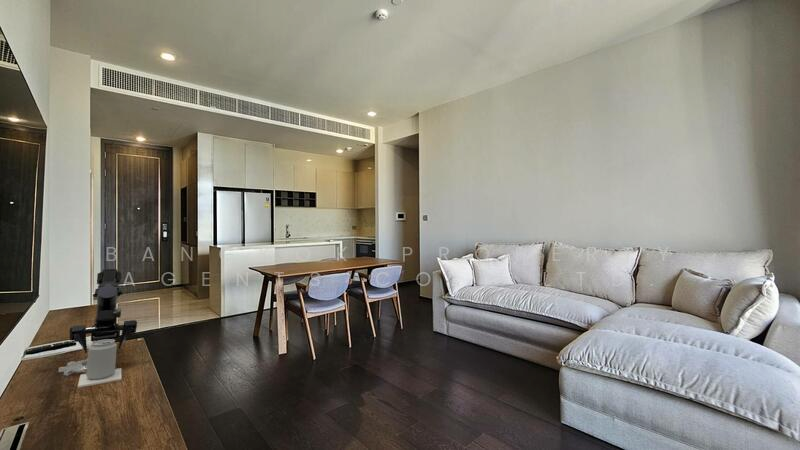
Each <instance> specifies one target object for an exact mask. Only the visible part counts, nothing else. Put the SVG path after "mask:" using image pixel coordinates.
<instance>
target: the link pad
mask: <svg viewBox="0 0 800 450" xmlns="http://www.w3.org/2000/svg"><path fill="white" fill-rule="evenodd" d="M121 380H122V367H120V368H119V367H118V368H115V372H114V373H113V374H112V375H111V376H109V377H106V378H103V379H96V380H92V379H90V378H88V377H87V374H84V373H81V374H80V376H79V379H78V384H77V388H78V389H79V388H84V387H90V386H95V385H96V386H97V385H100V384H105V383H111V382H116V381H121Z"/></svg>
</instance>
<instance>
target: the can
mask: <svg viewBox="0 0 800 450" xmlns="http://www.w3.org/2000/svg"><path fill="white" fill-rule="evenodd" d="M117 347H118V344H117V343H116V340H115V339H114V338H113V339H105V340H99V341H92V342H91V344H90V346H88V348H87V351H88V352H87V358H88V362H87V377H88V378H90V379H92V380H96V379H103V378H106V377H109V376H111V375H112V374H113V373H114V372H115V369H116V365H117V363H116V362H117V350H118V349H117Z"/></svg>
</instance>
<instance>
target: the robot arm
mask: <svg viewBox="0 0 800 450" xmlns="http://www.w3.org/2000/svg"><path fill="white" fill-rule="evenodd" d="M121 283H122V272H120V271H118V269H117V268H104V269H102V271H100V272H99V273H97V276H96V285H98V286H97V288H95V290H94V299H95V298H96V302H97V305H96V312H95V313H96V314H95V319H94V325H91V327H87V328H86V324H79V325H72V326H70V328H69V340H70V341H74V342H75V343H79V345H80V346H81V347H82V351H83V352H84V354H85V355H86V354H88V352H87V351H88V348H87V347H88V345H87V335H90V342H95V341H99V340H105V339H113V340H114V339H118V338H120V340H119V345H118V350H121V348H122V346H123V344H124V342H125V341H126V339H127V338H128V337H129V336H132V335H133V334H135V333H136V332H137V327H138V320H136V319H131V320H129V319H128V320H124V321H123V324H119V323H117V321H118V320H117V319H118V318H121V315H122V308H121V307H120V308H119V307H117V302H118V297H120V296H122V295H123V290H122V289H121V287H120V284H121Z"/></svg>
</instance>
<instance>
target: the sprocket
mask: <svg viewBox="0 0 800 450" xmlns="http://www.w3.org/2000/svg"><path fill="white" fill-rule="evenodd" d="M87 362H88V357H87V358H86V359H81V360H78V361H69V362H67V363H66V366H61V367H58V371H57V372H58V373H62V372H63V376H71V375H73V374H87Z"/></svg>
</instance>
